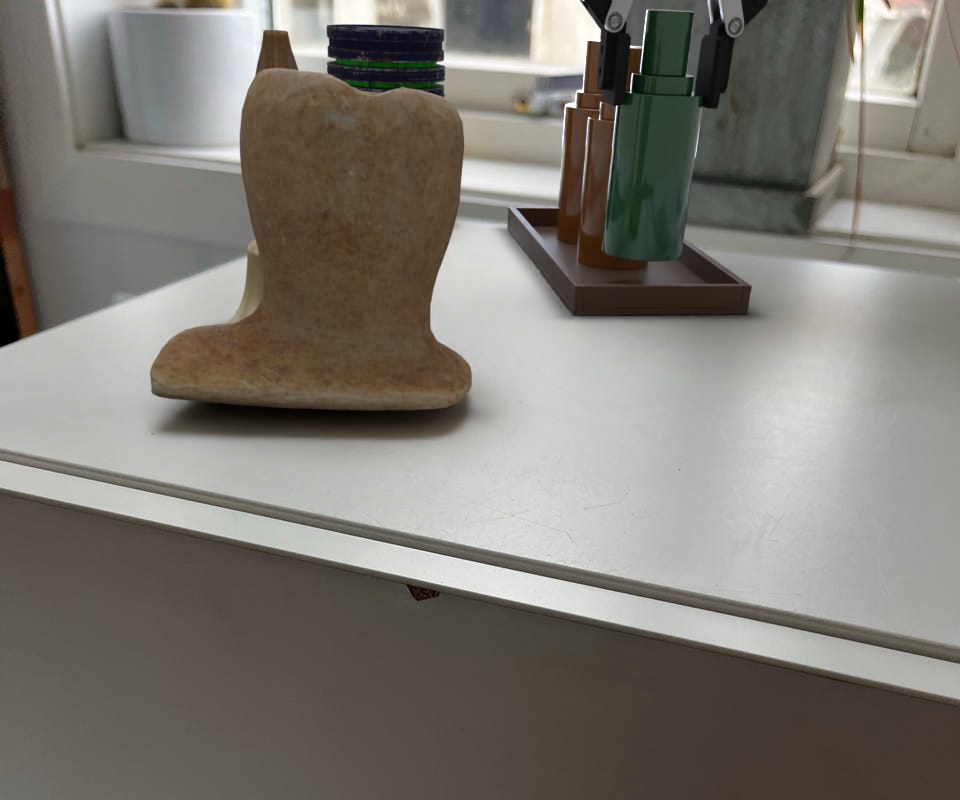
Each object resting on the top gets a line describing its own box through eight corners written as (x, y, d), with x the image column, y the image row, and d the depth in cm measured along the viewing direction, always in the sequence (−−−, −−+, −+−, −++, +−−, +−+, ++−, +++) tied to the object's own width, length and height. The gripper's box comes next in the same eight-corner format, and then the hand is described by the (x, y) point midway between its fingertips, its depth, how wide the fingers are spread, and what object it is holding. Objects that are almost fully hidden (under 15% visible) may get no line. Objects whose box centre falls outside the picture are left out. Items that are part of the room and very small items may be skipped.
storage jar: (452, 214, 94) (455, 28, 86) (432, 236, 86) (434, 32, 78) (348, 207, 95) (342, 23, 87) (319, 228, 87) (309, 27, 79)
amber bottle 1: (612, 231, 88) (631, 39, 80) (629, 246, 84) (651, 43, 76) (550, 231, 88) (563, 37, 80) (563, 246, 83) (578, 41, 75)
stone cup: (474, 363, 58) (483, 65, 50) (468, 442, 48) (478, 85, 40) (211, 353, 58) (177, 52, 50) (151, 430, 48) (96, 70, 40)
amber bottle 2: (636, 252, 82) (660, 45, 74) (656, 269, 77) (684, 50, 69) (569, 252, 81) (585, 43, 73) (585, 269, 76) (604, 48, 68)
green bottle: (668, 243, 74) (699, 10, 66) (691, 262, 69) (728, 13, 61) (593, 243, 73) (616, 7, 65) (612, 261, 68) (639, 10, 60)
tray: (639, 230, 91) (642, 207, 90) (747, 314, 69) (752, 285, 68) (507, 229, 90) (508, 206, 89) (573, 315, 67) (575, 286, 66)
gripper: (820, -238, 60) (762, 102, 70) (539, -260, 58) (520, 95, 68) (878, -262, 54) (806, 115, 64) (566, -288, 52) (541, 107, 62)
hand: (659, 101), depth 66 cm, fingers closed on green bottle, 5 cm apart
